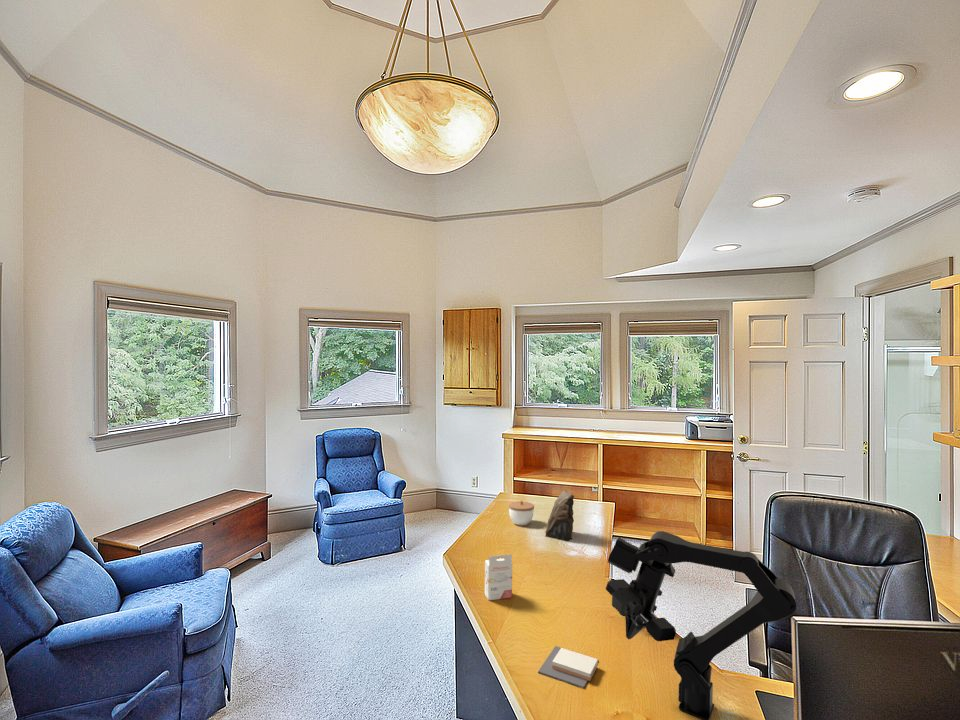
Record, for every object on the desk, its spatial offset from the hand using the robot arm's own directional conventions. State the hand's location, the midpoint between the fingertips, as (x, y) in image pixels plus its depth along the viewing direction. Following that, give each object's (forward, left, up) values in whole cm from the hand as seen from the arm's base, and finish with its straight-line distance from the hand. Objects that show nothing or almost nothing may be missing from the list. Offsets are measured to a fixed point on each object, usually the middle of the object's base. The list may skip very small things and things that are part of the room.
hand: (628, 638), depth 121 cm
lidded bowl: (+85, -88, -12) cm, 123 cm away
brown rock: (+62, -84, -12) cm, 106 cm away
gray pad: (+15, +2, -12) cm, 19 cm away
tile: (+8, +1, -10) cm, 13 cm away
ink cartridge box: (+51, -18, -12) cm, 56 cm away
